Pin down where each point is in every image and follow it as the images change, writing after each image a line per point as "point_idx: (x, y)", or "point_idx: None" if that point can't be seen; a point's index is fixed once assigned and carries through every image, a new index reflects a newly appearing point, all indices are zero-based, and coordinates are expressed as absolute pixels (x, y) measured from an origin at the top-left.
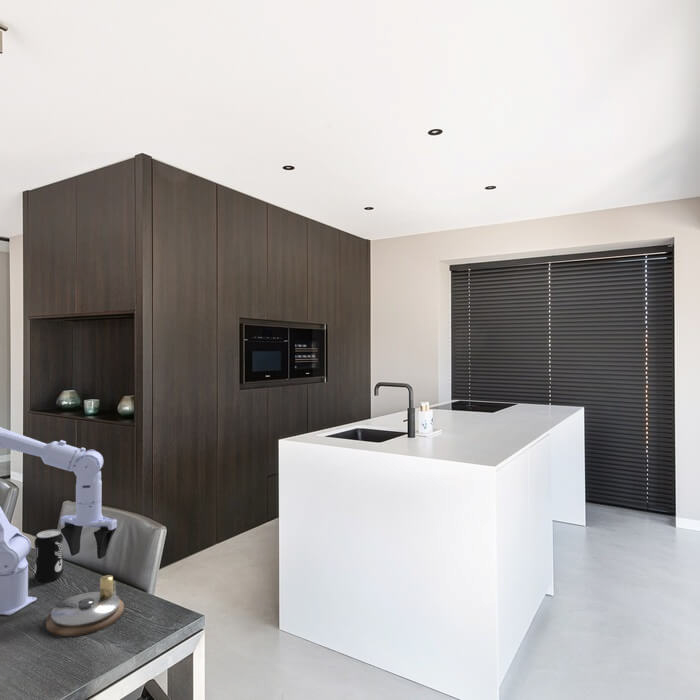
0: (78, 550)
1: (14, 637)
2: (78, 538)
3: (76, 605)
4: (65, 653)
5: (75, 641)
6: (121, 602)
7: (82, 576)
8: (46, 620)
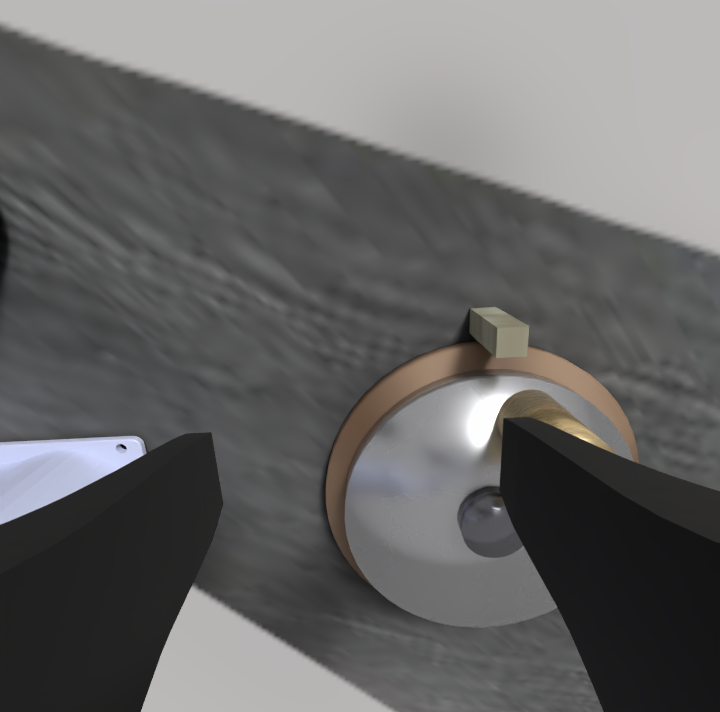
0: (203, 454)
1: (326, 644)
2: (127, 540)
3: (442, 523)
4: (565, 661)
5: (552, 611)
6: (589, 382)
7: (108, 131)
8: (367, 580)
